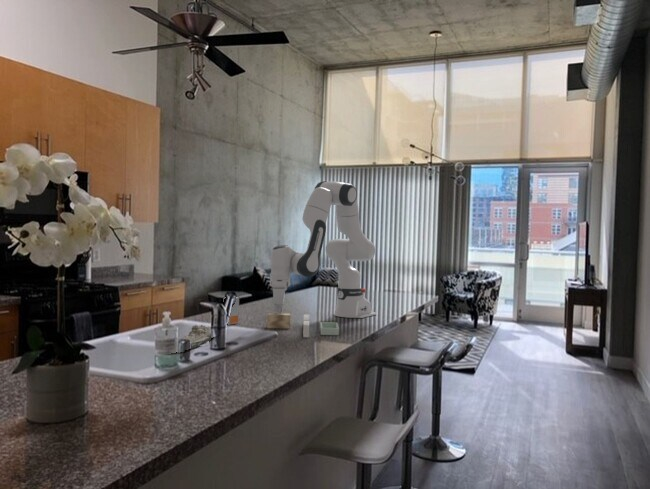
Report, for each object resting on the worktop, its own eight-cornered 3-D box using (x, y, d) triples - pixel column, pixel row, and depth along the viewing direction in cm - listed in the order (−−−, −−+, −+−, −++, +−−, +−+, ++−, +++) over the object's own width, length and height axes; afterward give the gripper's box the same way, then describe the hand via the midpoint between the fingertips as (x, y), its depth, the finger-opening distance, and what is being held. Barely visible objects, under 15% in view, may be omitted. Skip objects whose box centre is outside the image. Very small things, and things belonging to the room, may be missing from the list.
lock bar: (267, 328, 228) (267, 314, 228) (267, 326, 232) (268, 313, 232) (290, 328, 228) (290, 315, 228) (290, 326, 232) (290, 313, 232)
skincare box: (228, 325, 232) (229, 298, 232) (222, 323, 235) (223, 297, 234) (238, 323, 237) (239, 297, 236) (232, 322, 239) (233, 296, 239)
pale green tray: (320, 328, 230) (320, 322, 230) (337, 328, 230) (337, 322, 230) (320, 334, 216) (320, 328, 216) (338, 335, 217) (339, 328, 217)
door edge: (303, 324, 237) (304, 313, 237) (309, 325, 237) (309, 313, 237) (303, 337, 211) (303, 324, 211) (309, 337, 211) (309, 324, 211)
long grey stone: (160, 356, 181) (187, 360, 180) (161, 342, 181) (187, 345, 179) (202, 331, 216) (225, 334, 214) (203, 319, 215) (225, 321, 213)
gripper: (274, 279, 239) (273, 309, 240) (271, 284, 219) (270, 316, 219) (288, 280, 240) (287, 309, 240) (286, 284, 219) (285, 317, 219)
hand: (279, 313), depth 229 cm, fingers open, 8 cm apart
